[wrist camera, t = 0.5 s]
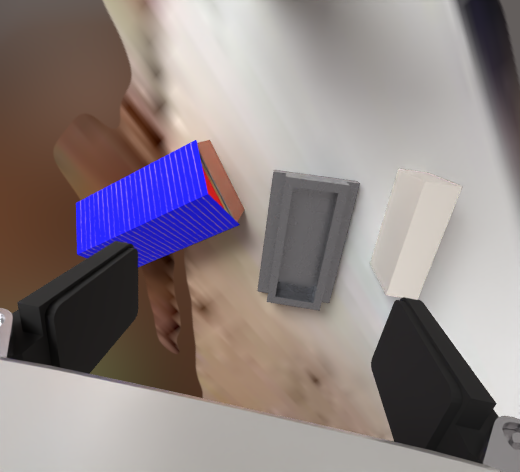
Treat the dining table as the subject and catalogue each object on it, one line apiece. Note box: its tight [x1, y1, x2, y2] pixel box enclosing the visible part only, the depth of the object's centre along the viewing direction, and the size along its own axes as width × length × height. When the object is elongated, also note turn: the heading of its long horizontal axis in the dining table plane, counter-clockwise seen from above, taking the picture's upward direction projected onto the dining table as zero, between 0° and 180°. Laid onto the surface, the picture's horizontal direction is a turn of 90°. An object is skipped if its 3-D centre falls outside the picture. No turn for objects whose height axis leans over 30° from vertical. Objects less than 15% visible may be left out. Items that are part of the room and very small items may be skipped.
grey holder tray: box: [258, 170, 360, 311], centre depth 43 cm, size 20×12×4 cm, turn 173°
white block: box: [370, 169, 463, 300], centre depth 38 cm, size 15×4×9 cm, turn 173°
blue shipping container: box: [76, 140, 244, 267], centre depth 40 cm, size 12×20×12 cm, turn 115°
